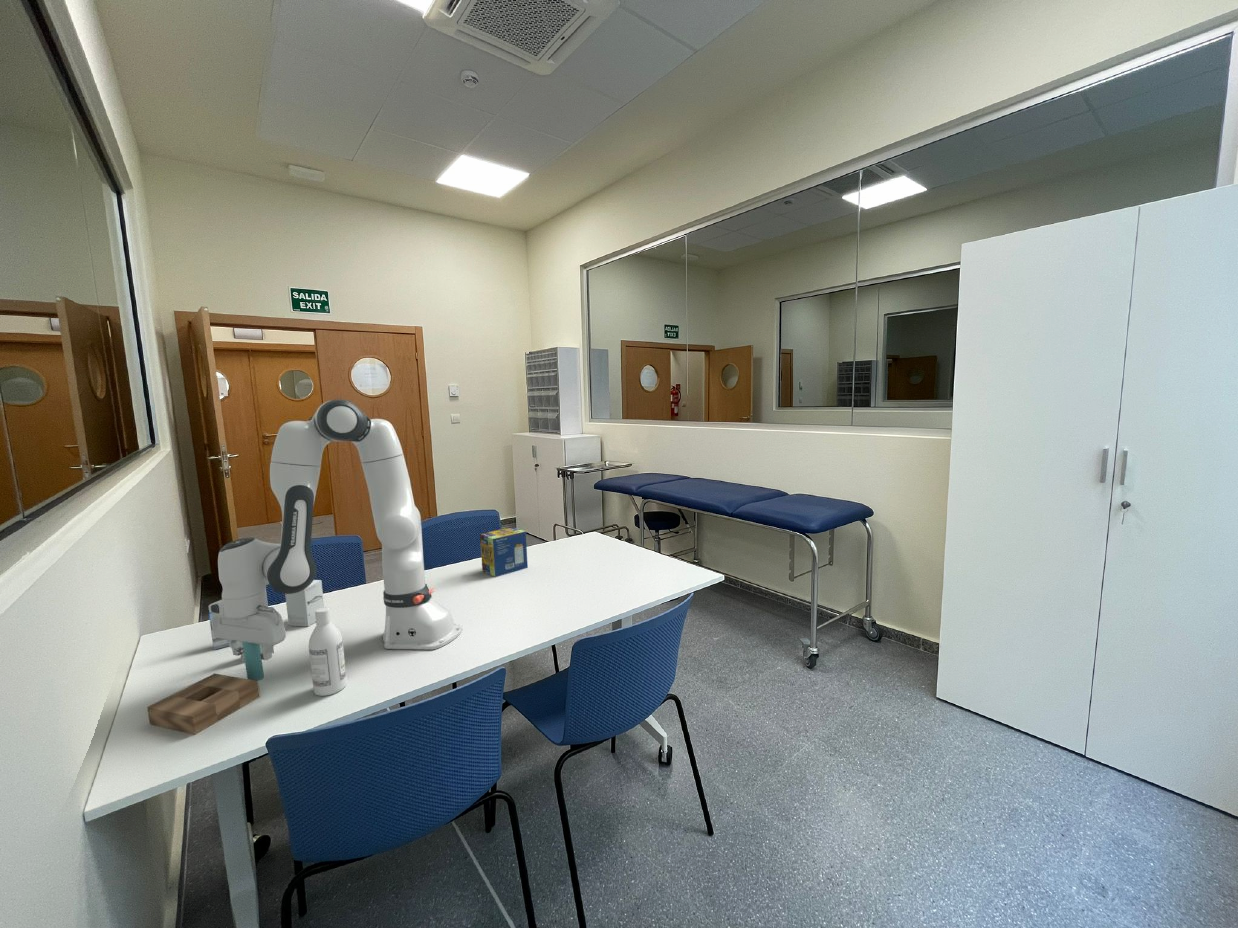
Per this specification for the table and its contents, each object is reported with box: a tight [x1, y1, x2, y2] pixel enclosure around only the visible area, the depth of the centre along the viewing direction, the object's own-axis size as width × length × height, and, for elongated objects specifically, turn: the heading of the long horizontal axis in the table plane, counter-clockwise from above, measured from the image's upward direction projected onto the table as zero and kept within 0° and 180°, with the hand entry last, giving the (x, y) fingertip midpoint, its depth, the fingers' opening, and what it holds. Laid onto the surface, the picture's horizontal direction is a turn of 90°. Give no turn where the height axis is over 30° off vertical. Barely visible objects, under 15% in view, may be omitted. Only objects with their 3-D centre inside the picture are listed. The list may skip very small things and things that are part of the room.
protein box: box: [479, 526, 528, 578], centre depth 204 cm, size 10×15×16 cm
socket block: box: [146, 673, 260, 735], centre depth 115 cm, size 14×14×4 cm
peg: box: [242, 642, 265, 681], centre depth 127 cm, size 3×3×12 cm
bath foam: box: [308, 606, 348, 697], centre depth 121 cm, size 7×7×20 cm
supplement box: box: [284, 579, 325, 628], centre depth 161 cm, size 7×7×13 cm
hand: (252, 656), depth 127 cm, fingers open, 8 cm apart
